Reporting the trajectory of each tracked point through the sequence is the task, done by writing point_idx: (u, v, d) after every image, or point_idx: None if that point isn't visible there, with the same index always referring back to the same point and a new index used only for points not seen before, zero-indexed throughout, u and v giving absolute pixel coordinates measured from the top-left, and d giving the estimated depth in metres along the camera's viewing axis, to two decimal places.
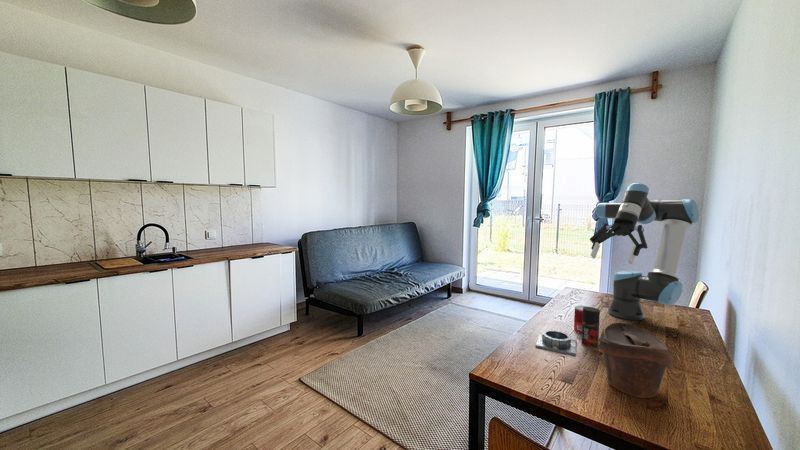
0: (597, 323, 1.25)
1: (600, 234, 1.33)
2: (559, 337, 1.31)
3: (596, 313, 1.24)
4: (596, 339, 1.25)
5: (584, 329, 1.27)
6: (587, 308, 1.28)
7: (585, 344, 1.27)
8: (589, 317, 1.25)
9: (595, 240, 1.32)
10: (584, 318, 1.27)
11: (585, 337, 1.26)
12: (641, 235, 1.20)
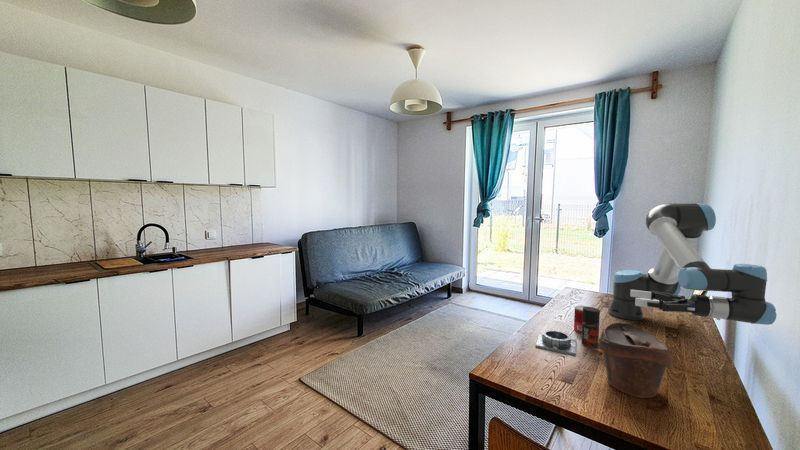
0: (597, 323, 1.25)
1: None
2: (559, 337, 1.31)
3: (596, 313, 1.24)
4: (596, 339, 1.25)
5: (584, 329, 1.27)
6: (587, 308, 1.28)
7: (585, 344, 1.27)
8: (589, 317, 1.25)
9: (661, 309, 1.10)
10: (584, 318, 1.27)
11: (585, 337, 1.27)
12: None
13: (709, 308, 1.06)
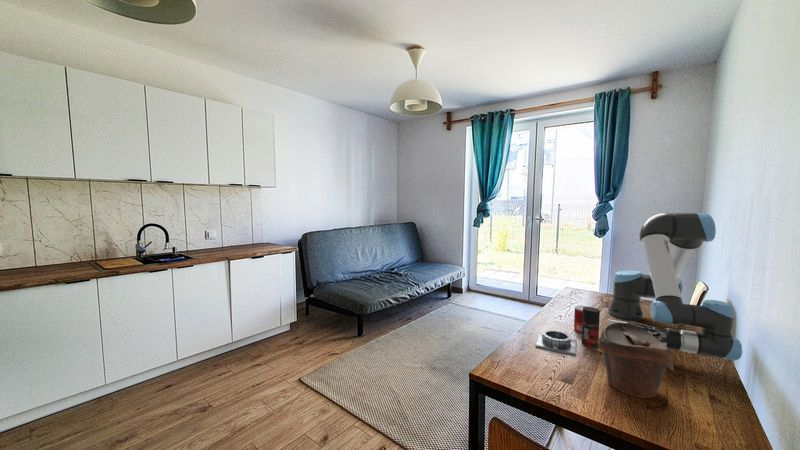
0: (597, 323, 1.25)
1: None
2: (559, 337, 1.31)
3: (596, 313, 1.24)
4: (596, 339, 1.25)
5: (584, 329, 1.27)
6: (587, 308, 1.28)
7: (585, 344, 1.27)
8: (589, 317, 1.25)
9: None
10: (584, 318, 1.27)
11: (585, 337, 1.26)
12: None
13: (681, 343, 1.11)
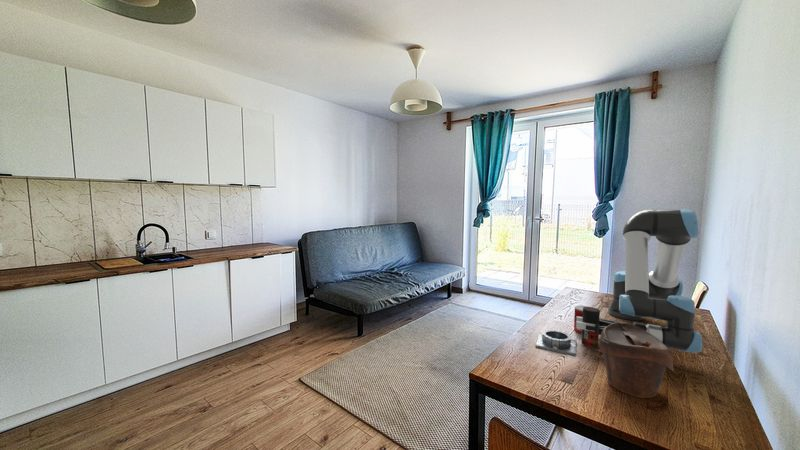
0: (597, 323, 1.25)
1: None
2: (559, 337, 1.31)
3: (596, 313, 1.24)
4: (596, 339, 1.25)
5: None
6: (587, 308, 1.28)
7: (585, 344, 1.27)
8: (589, 317, 1.25)
9: None
10: (584, 318, 1.27)
11: (585, 337, 1.26)
12: None
13: None
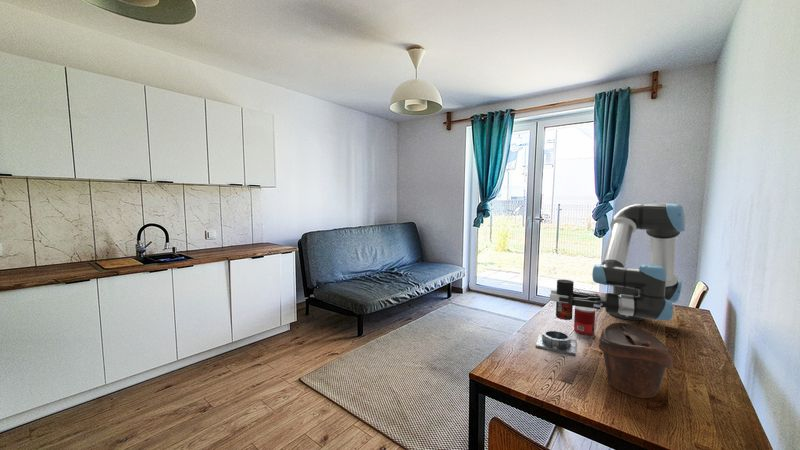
0: (571, 295, 1.23)
1: None
2: (559, 337, 1.31)
3: (570, 284, 1.23)
4: (570, 311, 1.23)
5: None
6: (561, 280, 1.26)
7: (559, 316, 1.25)
8: (562, 289, 1.24)
9: (570, 303, 1.21)
10: (558, 290, 1.25)
11: (559, 309, 1.25)
12: None
13: (618, 306, 1.14)
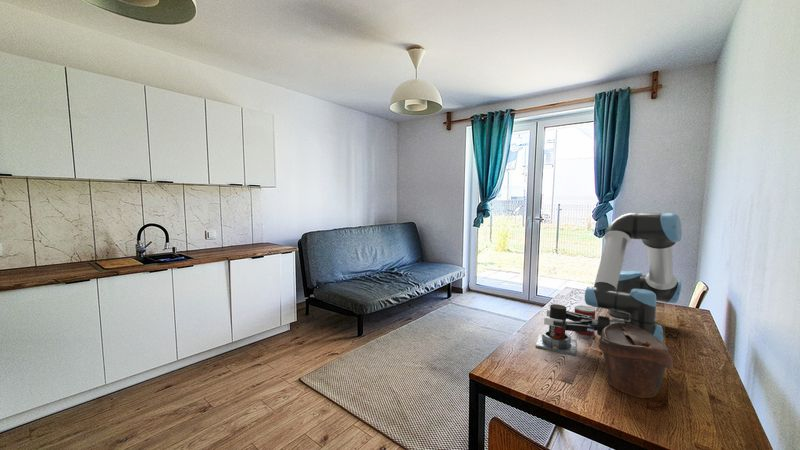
0: None
1: None
2: None
3: (562, 310, 1.24)
4: (562, 336, 1.25)
5: (551, 326, 1.27)
6: (554, 305, 1.28)
7: None
8: (555, 315, 1.25)
9: (564, 328, 1.21)
10: (551, 315, 1.27)
11: (552, 334, 1.26)
12: None
13: None
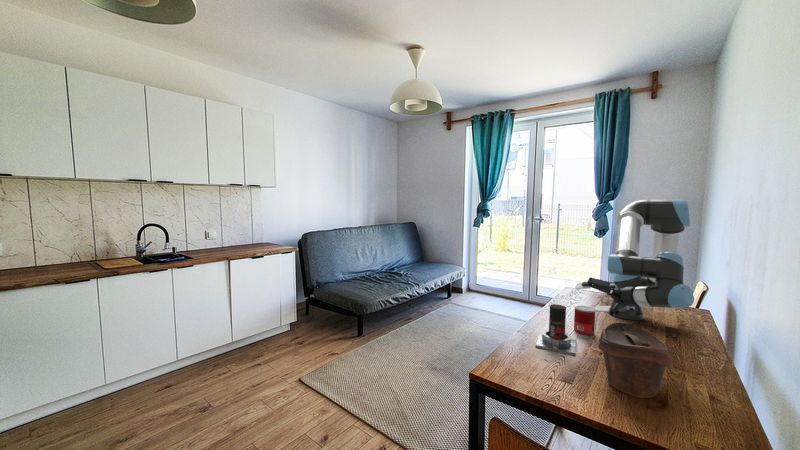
0: (563, 320, 1.25)
1: None
2: None
3: (562, 310, 1.24)
4: (562, 336, 1.25)
5: (550, 326, 1.27)
6: (554, 305, 1.28)
7: None
8: (555, 315, 1.25)
9: (590, 286, 1.27)
10: (551, 316, 1.27)
11: (552, 334, 1.26)
12: (623, 313, 1.25)
13: (632, 290, 1.16)
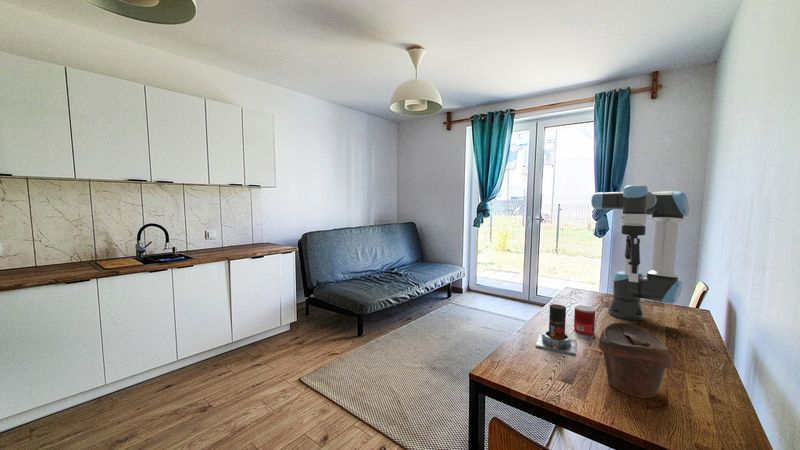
0: (563, 320, 1.25)
1: None
2: None
3: (562, 310, 1.24)
4: (562, 336, 1.25)
5: (550, 326, 1.27)
6: (554, 305, 1.28)
7: None
8: (555, 315, 1.25)
9: (625, 256, 1.30)
10: (551, 315, 1.27)
11: (552, 334, 1.26)
12: (631, 251, 1.16)
13: None
